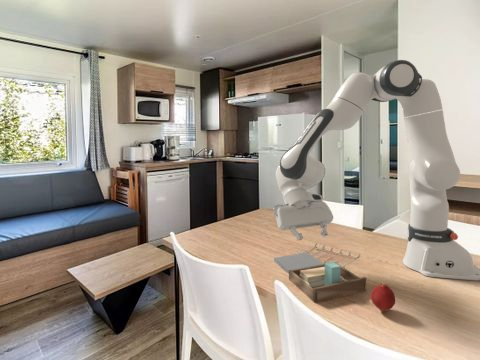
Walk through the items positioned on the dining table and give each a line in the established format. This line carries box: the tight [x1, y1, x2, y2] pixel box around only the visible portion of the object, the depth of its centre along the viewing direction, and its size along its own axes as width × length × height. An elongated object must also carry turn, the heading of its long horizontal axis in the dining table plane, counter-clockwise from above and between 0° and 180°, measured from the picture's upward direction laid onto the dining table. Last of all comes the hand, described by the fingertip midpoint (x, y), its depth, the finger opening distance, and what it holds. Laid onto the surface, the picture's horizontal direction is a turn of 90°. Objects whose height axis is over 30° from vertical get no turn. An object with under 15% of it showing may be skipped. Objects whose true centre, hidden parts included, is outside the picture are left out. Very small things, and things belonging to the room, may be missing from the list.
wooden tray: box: [288, 261, 367, 303], centre depth 95 cm, size 15×18×4 cm
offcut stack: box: [299, 267, 344, 288], centre depth 98 cm, size 6×13×3 cm, turn 109°
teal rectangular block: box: [323, 261, 341, 286], centre depth 91 cm, size 4×3×8 cm
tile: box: [273, 251, 324, 275], centre depth 109 cm, size 14×14×1 cm
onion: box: [370, 282, 397, 312], centre depth 80 cm, size 6×6×8 cm
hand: (312, 237), depth 100 cm, fingers open, 8 cm apart
